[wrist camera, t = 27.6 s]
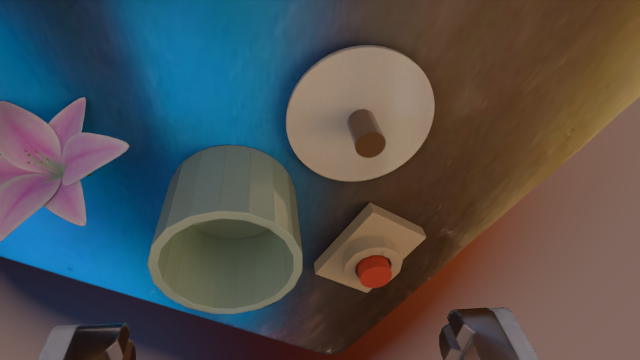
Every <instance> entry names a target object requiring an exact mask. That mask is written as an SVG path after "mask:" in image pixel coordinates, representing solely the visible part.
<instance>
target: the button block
mask: <svg viewBox="0 0 640 360" xmlns="http://www.w3.org/2000/svg"><path fill="white" fill-rule="evenodd" d="M425 238H426V235H425V233H424V231H423V229H422V227H420V226H418V225H416V224H414V223H412V222H409V221H407V220H405V219H403V218H401V217H399V216H397V215H395V214H393V213H391V212H389V211H387V210H385V209H383V208H381V207H379V206H377V205H374V204H372V203H369V204H368V205H367V206H366V207H365V208H364V209H363V210H362V211H361V212H360V213H359V214H358V216H357V217H356V218H355V219H354V220H353V221H352V222H351V223H350V224H349V225H348V226H347V228H346V229H345V230H344V231H343V232H342V233H341V234H340V235H339V236H338V237H337V238H336V240H335V241H334V242H333V243H332V244H331V245H330V246H329V247H328V248H327V249H326V250H325V252H324V253H323V254H322V255H321V256H320V257H319V258H318V259H317V260H316V261H315V262H314V268H315V274H317V275H320V276H322V277H325V278H328V279H331V280H333V281H336V282H339V283H342V284H344V285H347V286H350V287H353V288H355V289H358V290H361V291H364V292H366V293H368V292H369V291H370V290H371V289H372V288H368V287H365V286H363V285H362V284H361V282H360V279H359V275H358V271H357V265H358V263H359V262H360V261H361V260H362V259H364V258H366V257H369V256H371V255H381V256H384V257H385V258H386V259H387V260H388V262H389V266H390V269H391V272H392V277H391V280H392V279H393V278H394V277H395V276H396V275H397V274H398V273H399V272H400V269H401V265H402V260H403V259H404V258H405V257H406V256H407V255H408V254H409V253H410V252H412V251H413V250H414V249H415V248H416V247H417V246H418V245H419V244H420V243H421V242H422V241H423V240H424V239H425Z"/></svg>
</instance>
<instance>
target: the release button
mask: <svg viewBox="0 0 640 360" xmlns="http://www.w3.org/2000/svg"><path fill="white" fill-rule="evenodd" d="M357 271H358V275H359V279H360V282H361V284H362V285H363V286H365V287H368V288H377V287H381V286H383V285H385V284H387V283H388V282H389V281H390V280H391V277H392V272H391V269H390V266H389V262H388V260H387V259H386V258H385V257H384V256H381V255H371V256H369V257H366V258H364V259H362V260H361V261H360V262H359V263H358V265H357Z"/></svg>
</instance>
